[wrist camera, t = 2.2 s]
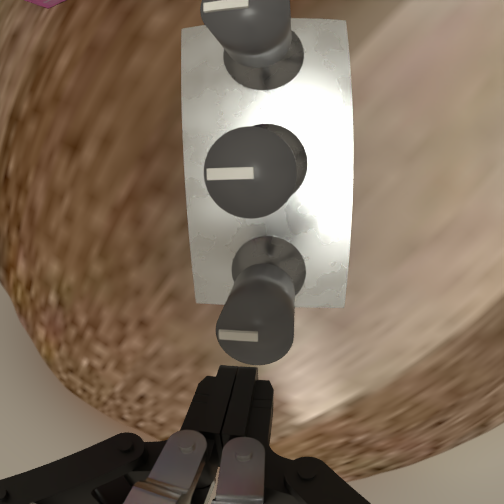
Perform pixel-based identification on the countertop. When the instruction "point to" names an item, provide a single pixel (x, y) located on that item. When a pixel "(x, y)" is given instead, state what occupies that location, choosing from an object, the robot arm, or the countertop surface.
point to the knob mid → (250, 172)
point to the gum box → (46, 2)
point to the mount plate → (305, 151)
